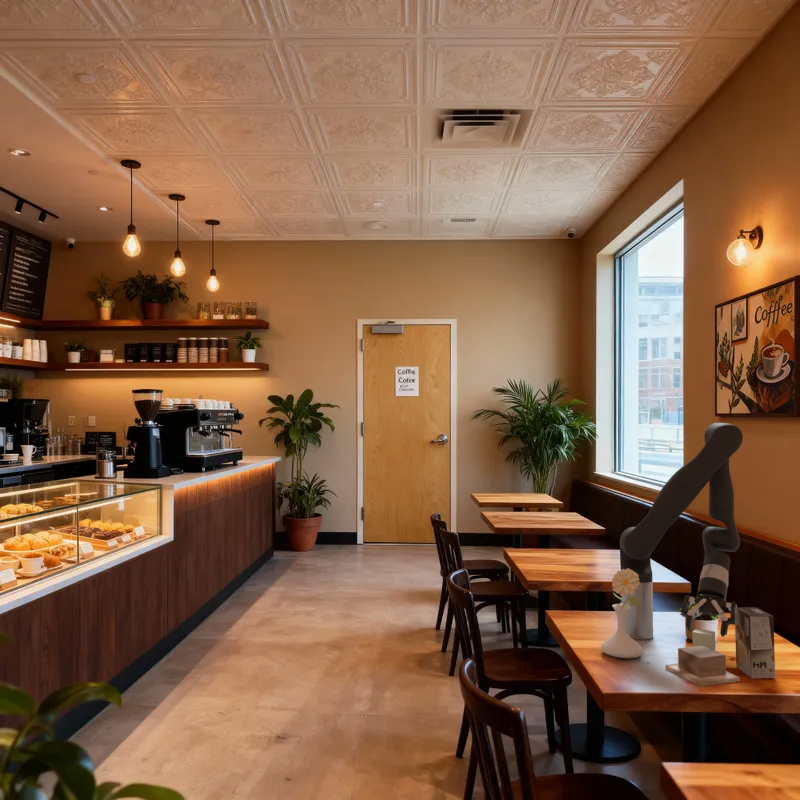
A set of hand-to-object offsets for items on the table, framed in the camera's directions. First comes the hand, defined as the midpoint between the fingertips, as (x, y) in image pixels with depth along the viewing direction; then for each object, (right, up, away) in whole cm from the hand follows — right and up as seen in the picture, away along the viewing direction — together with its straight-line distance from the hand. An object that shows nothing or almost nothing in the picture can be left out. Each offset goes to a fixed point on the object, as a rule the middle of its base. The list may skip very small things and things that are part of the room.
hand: (705, 632), depth 185 cm
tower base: (-7, -7, -12) cm, 16 cm away
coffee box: (+8, -7, -10) cm, 15 cm away
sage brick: (-1, -7, -1) cm, 8 cm away
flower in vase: (-22, -8, +2) cm, 24 cm away
